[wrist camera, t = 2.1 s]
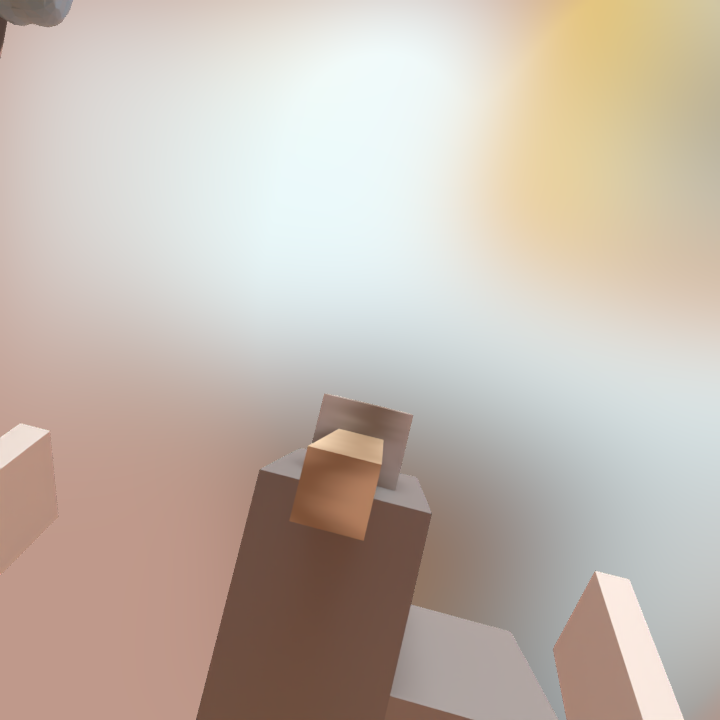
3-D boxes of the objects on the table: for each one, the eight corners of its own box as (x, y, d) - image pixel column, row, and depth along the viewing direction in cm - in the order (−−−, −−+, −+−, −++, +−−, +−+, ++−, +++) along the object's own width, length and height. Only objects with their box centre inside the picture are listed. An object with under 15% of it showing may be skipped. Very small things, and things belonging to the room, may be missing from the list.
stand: (118, 1025, 27) (259, 469, 29) (208, 815, 41) (300, 447, 43) (490, 1152, 26) (612, 560, 28) (454, 891, 40) (537, 507, 42)
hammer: (252, 511, 20) (283, 388, 21) (316, 459, 39) (332, 394, 39) (401, 550, 20) (430, 423, 20) (394, 479, 38) (409, 413, 39)
